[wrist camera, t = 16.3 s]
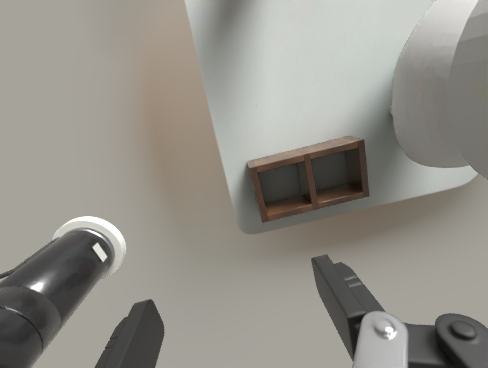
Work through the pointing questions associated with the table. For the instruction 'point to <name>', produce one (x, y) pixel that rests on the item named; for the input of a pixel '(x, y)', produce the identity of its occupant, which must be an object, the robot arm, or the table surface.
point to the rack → (311, 197)
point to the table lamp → (445, 87)
